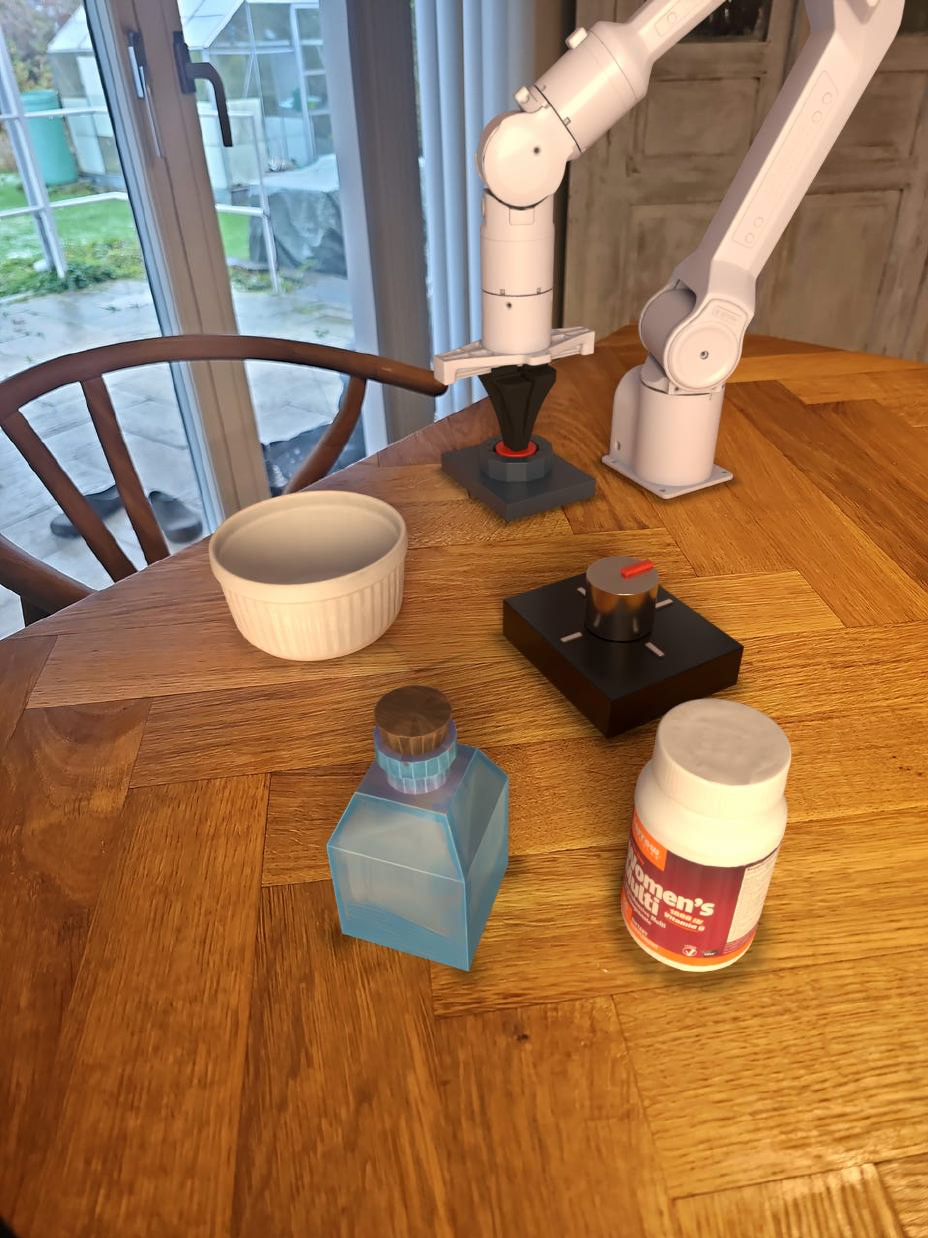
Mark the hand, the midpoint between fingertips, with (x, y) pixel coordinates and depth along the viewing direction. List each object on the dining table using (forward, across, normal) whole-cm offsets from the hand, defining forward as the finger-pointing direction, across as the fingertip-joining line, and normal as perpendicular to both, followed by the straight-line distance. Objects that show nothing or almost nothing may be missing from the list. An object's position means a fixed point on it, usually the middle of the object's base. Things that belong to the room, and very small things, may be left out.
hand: (515, 446), depth 75 cm
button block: (+3, 0, 0) cm, 3 cm away
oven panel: (+3, -8, -26) cm, 27 cm away
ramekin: (+4, -23, -11) cm, 26 cm away
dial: (0, -8, -25) cm, 27 cm away
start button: (+2, 0, 0) cm, 2 cm away
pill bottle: (+4, -17, -43) cm, 46 cm away
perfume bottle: (+4, -27, -36) cm, 45 cm away
